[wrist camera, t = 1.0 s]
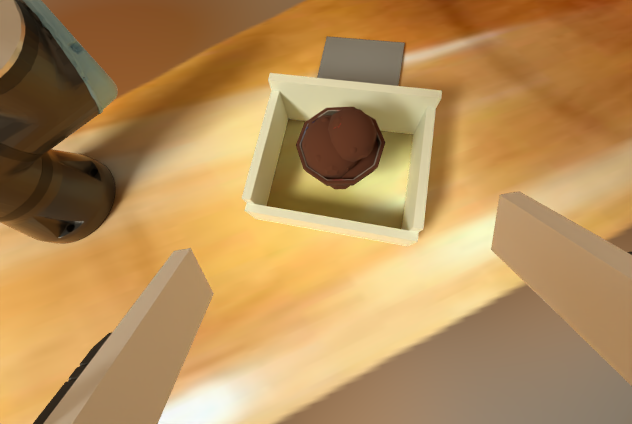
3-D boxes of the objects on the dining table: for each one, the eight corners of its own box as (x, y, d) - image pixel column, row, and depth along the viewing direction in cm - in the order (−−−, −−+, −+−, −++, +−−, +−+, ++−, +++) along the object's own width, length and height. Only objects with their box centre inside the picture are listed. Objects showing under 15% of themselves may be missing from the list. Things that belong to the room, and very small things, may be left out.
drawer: (255, 218, 42) (233, 202, 33) (283, 112, 46) (269, 72, 37) (407, 246, 38) (427, 236, 30) (421, 128, 43) (442, 90, 34)
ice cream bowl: (359, 133, 44) (369, 61, 29) (384, 194, 41) (408, 147, 26) (298, 153, 44) (278, 90, 29) (318, 215, 41) (306, 179, 26)
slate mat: (312, 103, 46) (311, 101, 45) (327, 39, 49) (326, 36, 49) (393, 113, 44) (394, 111, 43) (403, 45, 47) (404, 42, 47)
